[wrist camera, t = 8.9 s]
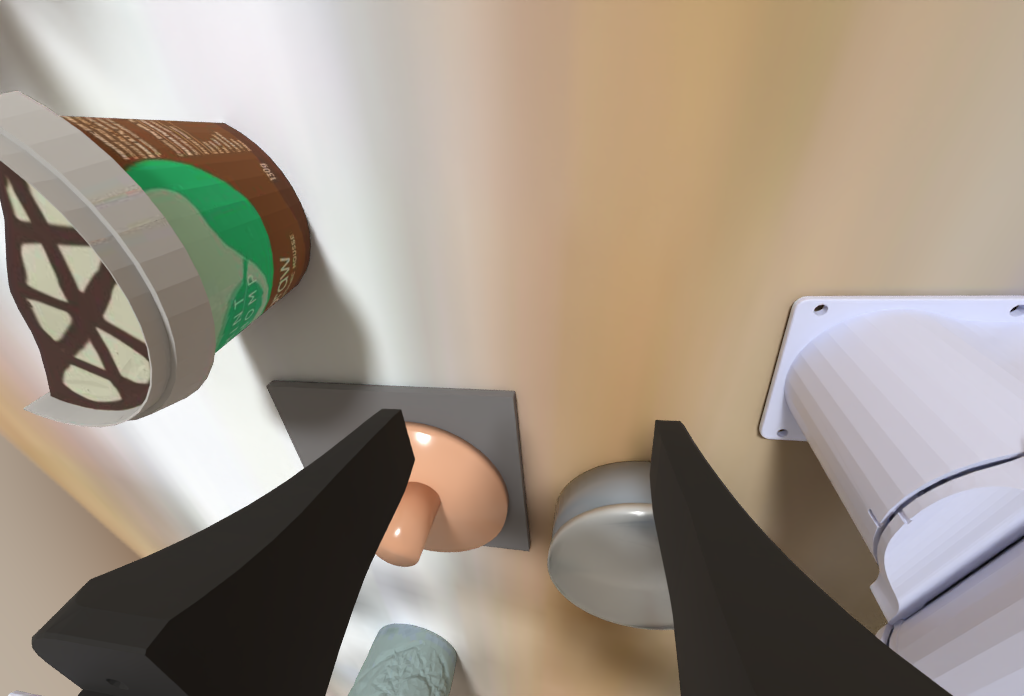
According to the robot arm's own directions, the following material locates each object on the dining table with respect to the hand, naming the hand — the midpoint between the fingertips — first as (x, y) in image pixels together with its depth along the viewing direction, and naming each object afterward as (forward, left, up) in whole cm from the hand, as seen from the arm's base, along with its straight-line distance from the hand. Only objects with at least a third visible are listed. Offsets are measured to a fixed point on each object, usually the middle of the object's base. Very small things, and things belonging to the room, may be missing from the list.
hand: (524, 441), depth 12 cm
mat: (+11, +13, -10) cm, 20 cm away
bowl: (-5, +16, -10) cm, 20 cm away
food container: (+15, -3, -11) cm, 18 cm away
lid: (+10, +14, -10) cm, 20 cm away
